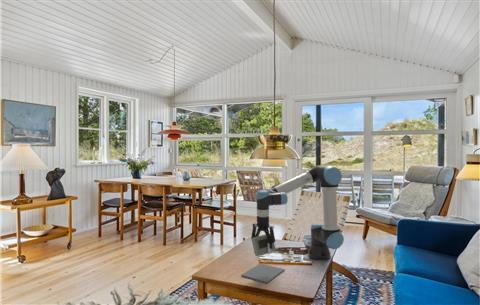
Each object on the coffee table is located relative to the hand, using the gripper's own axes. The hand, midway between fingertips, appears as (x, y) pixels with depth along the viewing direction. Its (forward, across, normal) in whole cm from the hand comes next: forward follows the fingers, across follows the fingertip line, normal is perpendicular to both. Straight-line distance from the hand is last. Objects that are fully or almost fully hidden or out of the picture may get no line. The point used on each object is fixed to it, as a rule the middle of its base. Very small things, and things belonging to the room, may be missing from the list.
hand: (263, 252), depth 200 cm
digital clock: (+1, +1, 0) cm, 1 cm away
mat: (+13, 0, 0) cm, 13 cm away
